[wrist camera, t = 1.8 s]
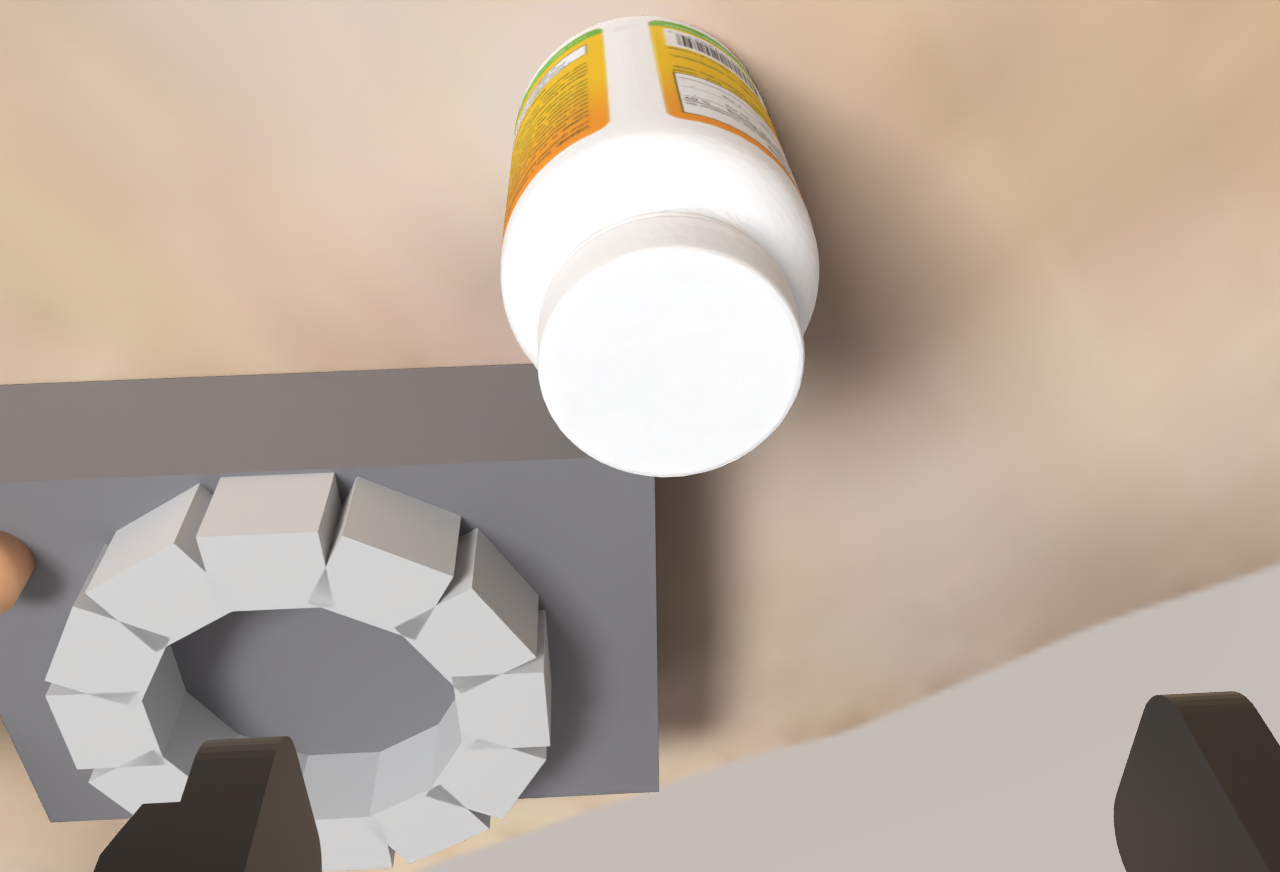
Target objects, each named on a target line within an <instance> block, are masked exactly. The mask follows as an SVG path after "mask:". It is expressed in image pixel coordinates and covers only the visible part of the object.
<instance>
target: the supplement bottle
mask: <svg viewBox="0 0 1280 872" xmlns="http://www.w3.org/2000/svg"><path fill="white" fill-rule="evenodd" d="M818 285H819V255H818V248H817V243H816V238H815V234H814V231H813V227H812V224H811V220H810V217H809V214H808V211H807V209H806V206H805V204H804V201H803V198H802V196H801V194H800V191H799V189H798V187H797V184H796V182H795V179H794V177H793V174H792V172H791V169H790V167H789V164H788V162H787V159H786V157H785V154H784V152H783V149H782V147H781V144H780V142H779V139H778V137H777V134H776V132H775V129H774V127H773V125H772V122H771V120H770V117H769V115H768V113H767V110H766V107H765V105H764V103H763V100H762V98H761V95H760V93H759V92H758V90H757V88H756V86H755V84H754V82H753V81H752V79H751V77H750V75H749V74H748V72H747V70H746V69H745V68H744V66H743V65H742V64H741V62H740V61H739V60H738V59H737V58H736V57H735V56H734V54H733V53H732V52H731V51H730V50H729V49H728V48H727V47H725V46H724V45H723V44H722V43H721V42H719V41H718V40H717V39H715V38H714V37H712V36H711V35H709V34H708V33H706V32H704V31H702V30H701V29H699V28H696V27H694V26H692V25H689V24H687V23H685V22H681V21H677V20H674V19H670V18H664V17H657V16H645V15H643V16H629V17H621V18H616V19H612V20H608V21H605V22H602V23H599V24H597V25H594V26H592V27H590V28H588V29H585V30H584V31H582V32H580V33H578V34H576V35H575V36H573V37H572V38H570V39H569V40H567V41H566V42H565V43H564V44H562V45H561V46H560V47H559V48H558V49H557V50H555V51H554V52H553V53H552V54H551V55H550V56H549V57H548V58H547V60H546V61H545V62H544V63H543V64H542V65H541V67H540V68H539V69H538V71H537V72H536V73H535V75H534V77H533V78H532V80H531V82H530V84H529V85H528V88H527V90H526V92H525V94H524V97H523V100H522V102H521V105H520V108H519V113H518V117H517V121H516V127H515V133H514V142H513V152H512V161H511V170H510V179H509V188H508V197H507V205H506V214H505V222H504V231H503V241H502V251H501V288H502V296H503V302H504V307H505V311H506V314H507V317H508V320H509V323H510V326H511V328H512V331H513V333H514V335H515V337H516V339H517V341H518V343H519V344H520V346H521V348H522V350H523V351H524V353H525V354H526V355H527V357H528V358H529V359H530V360H531V362H532V363H533V364H534V366H535V367H536V369H537V370H538V378H539V383H540V388H541V392H542V396H543V399H544V401H545V403H546V406H547V408H548V410H549V412H550V414H551V416H552V418H553V419H554V421H555V422H556V424H557V425H558V427H559V429H560V430H561V431H562V432H563V433H564V435H565V436H566V437H567V438H568V439H569V440H570V441H571V442H572V443H573V444H575V445H576V446H577V447H578V448H579V449H581V450H582V451H583V452H585V453H586V454H588V455H589V456H591V457H593V458H594V459H596V460H598V461H599V462H601V463H604V464H606V465H608V466H610V467H613V468H616V469H618V470H622V471H625V472H628V473H633V474H638V475H645V476H653V477H679V476H688V475H693V474H698V473H703V472H707V471H710V470H714V469H717V468H720V467H722V466H724V465H726V464H729V463H731V462H733V461H735V460H737V459H739V458H741V457H743V456H744V455H746V454H748V453H749V452H751V451H752V450H753V449H755V448H756V447H758V446H759V445H760V444H761V443H762V442H764V441H765V440H766V439H767V438H768V437H769V436H770V435H771V434H772V433H773V432H774V431H775V430H776V429H777V427H778V426H779V425H780V424H781V423H782V421H783V420H784V419H785V417H786V416H787V414H788V413H789V411H790V409H791V407H792V405H793V404H794V402H795V400H796V397H797V395H798V392H799V389H800V385H801V381H802V377H803V371H804V364H805V345H804V339H803V336H804V333H805V331H806V329H807V327H808V325H809V322H810V320H811V317H812V313H813V310H814V307H815V303H816V298H817V293H818Z"/></svg>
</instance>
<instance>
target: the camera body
mask: <svg viewBox="0 0 1280 872" xmlns="http://www.w3.org/2000/svg"><path fill="white" fill-rule="evenodd" d="M0 716H1V718H2V720H3V722H4V725H5V727H6V729H7V731H8V733H9V735H10V737H11V739H12V742H13V744H14V746H15V748H16V750H17V752H18V754H19V756H20V758H21V761H22V763H23V765H24V767H25V769H26V771H27V773H28V775H29V778H30V780H31V782H32V784H33V786H34V788H35V790H36V792H37V794H38V797H39V799H40V801H41V803H42V805H43V807H44V809H45V811H46V813H47V816H48V818H49V820H50V822H67V821H87V820H107V819H127V818H131V817H132V816H133V815H134V813H135V812H136V811H137V810H138V809H139V807H140V806H141V805H142V804H147V803H166V802H180V800H181V797H182V794H183V791H184V788H185V785H186V782H187V779H188V776H189V773H190V770H191V767H192V764H193V761H194V758H195V756H196V753H197V751H198V749H199V747H200V746H201V745H202V743H204V742H205V741H206V740H216V739H236V738H256V737H275V736H288V737H290V738H291V739H292V741H293V743H294V746H295V749H296V752H297V756H298V760H299V763H300V767H301V771H302V774H303V778H304V782H305V786H306V789H307V793H308V797H309V801H310V804H311V808H312V812H313V815H314V819H315V823H316V827H317V830H318V834H319V839H320V845H321V856H322V871H340V870H359V869H379V868H393V862H394V855H395V851H396V852H397V853H398V854H399V855H400V856H402V857H403V858H404V859H405V860H407V861H408V862H409V863H410V864H411V863H413V862H416V861H418V860H420V859H422V858H425V857H427V856H429V855H432V854H434V853H436V852H438V851H441V850H443V849H445V848H447V847H450V846H452V845H454V844H457V843H459V842H461V841H463V840H466V839H468V838H470V837H472V836H475V835H477V834H479V833H482V832H484V831H486V830H488V829H490V816H492V817H496V818H499V819H503V818H504V816H505V815H506V814H507V812H508V811H509V810H510V808H511V807H512V805H513V804H514V803H515V801H516V800H517V799H524V798H544V797H564V796H584V795H604V794H624V793H644V792H659V751H658V681H657V610H656V539H655V477H653V476H645V475H638V474H633V473H628V472H625V471H622V470H618V469H616V468H613V467H610V466H608V465H606V464H604V463H601V462H599V461H598V460H596V459H594V458H593V457H591V456H589V455H588V454H586V453H585V452H583V451H582V450H581V449H579V448H578V447H577V446H576V445H575V444H573V443H572V442H571V441H570V440H569V439H568V438H567V437H566V436H565V435H564V433H563V432H562V431H561V430H560V429H559V427H558V425H557V424H556V422H555V421H554V419H553V418H552V416H551V414H550V412H549V410H548V408H547V406H546V403H545V401H544V399H543V396H542V392H541V388H540V383H539V378H538V370H537V369H536V367H535V366H534V364H516V365H491V366H466V367H441V368H416V369H391V370H366V371H341V372H316V373H291V374H266V375H240V376H215V377H190V378H165V379H140V380H115V381H90V382H65V383H40V384H15V385H0Z"/></svg>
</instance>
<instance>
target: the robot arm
mask: <svg viewBox="0 0 1280 872" xmlns="http://www.w3.org/2000/svg"><path fill="white" fill-rule="evenodd" d="M1114 827H1115V835H1116V840H1117V845H1118V849H1119V853H1120V856H1121V859H1122V862H1123V864H1124V867H1125V869H1126V871H1127V872H1280V746H1279V744H1278V742H1277V741H1276V739H1275V738H1274V737H1273V735H1272V733H1271V731H1270V730H1269V729H1268V727H1267V725H1266V724H1265V722H1264V721H1263V719H1262V717H1261V716H1260V714H1259V713H1258V711H1257V710H1256V708H1255V707H1254V706H1253V704H1252V703H1251V702H1250V701H1249V700H1248V699H1247V698H1246V697H1245V696H1243V695H1242V694H1240V693H1237V692H1232V691H1230V692H1213V693H1212V692H1211V693H1190V694H1170V695H1156V696H1154V697H1152V698H1151V699H1150V700H1149V701H1148V703H1147V704H1146V706H1145V709H1144V712H1143V715H1142V718H1141V721H1140V724H1139V727H1138V730H1137V733H1136V736H1135V739H1134V743H1133V745H1132V748H1131V751H1130V754H1129V758H1128V760H1127V764H1126V767H1125V770H1124V773H1123V776H1122V779H1121V782H1120V785H1119V788H1118V791H1117V794H1116V798H1115V804H1114ZM94 872H322V856H321V845H320V839H319V834H318V830H317V827H316V823H315V819H314V815H313V812H312V808H311V804H310V801H309V797H308V793H307V789H306V786H305V782H304V778H303V774H302V771H301V767H300V763H299V760H298V756H297V752H296V749H295V746H294V743H293V741H292V739H291V738H290V737H288V736H275V737H256V738H236V739H216V740H206V741H205V742H204V743H202V745H201V746H200V747H199V749H198V751H197V753H196V756H195V758H194V761H193V764H192V767H191V770H190V773H189V776H188V779H187V782H186V785H185V788H184V791H183V794H182V797H181V800H180V802H166V803H147V804H142V805H141V806H140V807H139V809H138V810H137V811H136V812H135V813H134V815H133V816H132V817H131V818H130V819H129V821H128V822H127V823H126V824H125V825H124V827H123V828H122V829H121V830H120V831H119V833H118V834H117V835H116V836H115V837H114V839H113V840H112V841H111V842H110V843H109V845H108V846H107V847H106V848H105V849H104V851H103V852H102V853H101V854H100V856H99V859H98V862H97V864H96V867H95V870H94Z"/></svg>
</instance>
